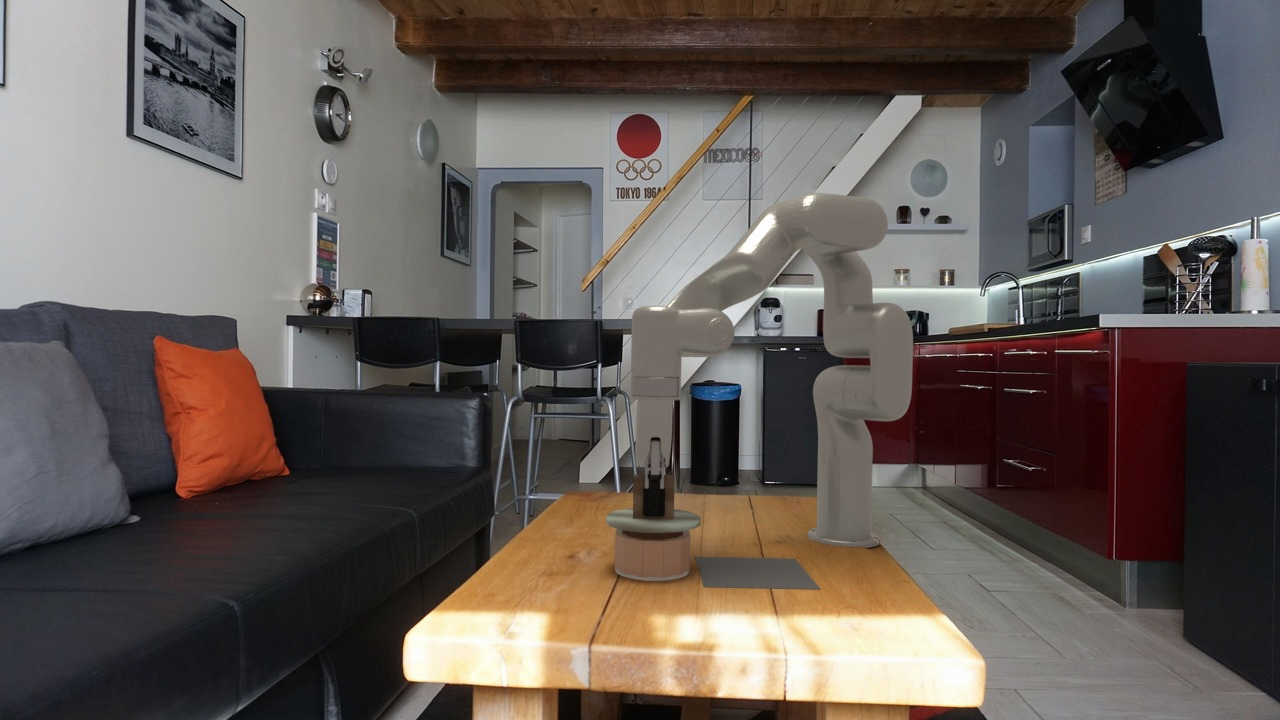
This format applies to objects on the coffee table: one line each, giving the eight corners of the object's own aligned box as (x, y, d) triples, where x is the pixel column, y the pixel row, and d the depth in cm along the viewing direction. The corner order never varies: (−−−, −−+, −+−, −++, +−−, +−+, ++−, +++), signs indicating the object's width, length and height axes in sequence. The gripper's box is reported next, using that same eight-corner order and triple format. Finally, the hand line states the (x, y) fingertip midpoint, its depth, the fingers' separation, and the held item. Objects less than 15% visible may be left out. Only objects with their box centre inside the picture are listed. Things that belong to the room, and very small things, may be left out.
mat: (694, 559, 113) (695, 556, 113) (795, 561, 113) (795, 558, 113) (703, 590, 97) (704, 586, 97) (820, 592, 97) (820, 589, 97)
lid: (608, 512, 112) (608, 469, 113) (696, 513, 112) (697, 470, 112) (603, 532, 98) (604, 483, 99) (704, 533, 98) (705, 484, 98)
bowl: (616, 562, 111) (616, 523, 111) (686, 563, 111) (687, 525, 111) (613, 583, 100) (614, 540, 100) (691, 584, 100) (692, 541, 100)
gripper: (631, 388, 114) (629, 502, 114) (629, 390, 98) (627, 525, 97) (678, 388, 114) (675, 503, 114) (684, 391, 98) (681, 526, 97)
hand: (653, 512), depth 105 cm, fingers closed on lid, 3 cm apart
